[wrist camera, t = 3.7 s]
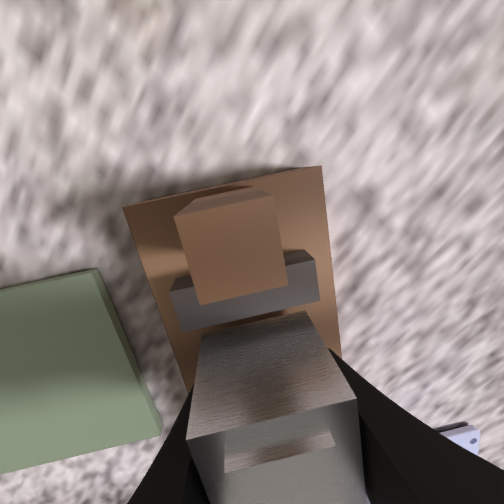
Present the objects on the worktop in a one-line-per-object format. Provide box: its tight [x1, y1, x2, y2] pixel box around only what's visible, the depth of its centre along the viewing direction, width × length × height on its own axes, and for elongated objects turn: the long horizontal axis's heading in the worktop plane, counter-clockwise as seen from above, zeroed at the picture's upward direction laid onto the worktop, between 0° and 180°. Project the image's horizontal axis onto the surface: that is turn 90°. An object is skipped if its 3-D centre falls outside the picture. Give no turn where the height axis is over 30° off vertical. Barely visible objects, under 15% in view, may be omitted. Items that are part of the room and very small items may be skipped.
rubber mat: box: [0, 268, 163, 474], centre depth 13 cm, size 10×10×1 cm
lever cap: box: [186, 310, 366, 504], centre depth 8 cm, size 5×4×5 cm
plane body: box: [122, 166, 342, 393], centre depth 10 cm, size 15×7×6 cm, turn 11°
